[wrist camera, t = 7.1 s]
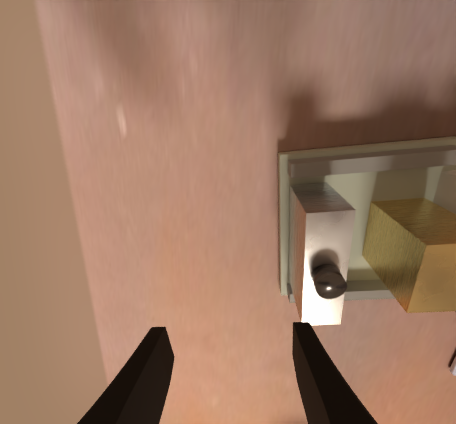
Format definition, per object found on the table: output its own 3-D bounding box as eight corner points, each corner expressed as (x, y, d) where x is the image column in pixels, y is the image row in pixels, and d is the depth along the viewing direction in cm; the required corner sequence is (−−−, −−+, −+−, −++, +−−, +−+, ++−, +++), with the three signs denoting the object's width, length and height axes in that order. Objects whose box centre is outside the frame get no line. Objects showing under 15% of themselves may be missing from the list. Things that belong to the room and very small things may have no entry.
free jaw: (326, 182, 16) (365, 219, 11) (319, 277, 19) (346, 338, 14) (289, 185, 16) (311, 222, 11) (288, 279, 19) (305, 339, 15)
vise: (503, 131, 15) (622, 146, 10) (448, 281, 20) (512, 336, 15) (277, 152, 16) (293, 174, 12) (279, 288, 21) (290, 342, 17)
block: (424, 197, 16) (505, 240, 11) (409, 252, 18) (474, 310, 13) (370, 201, 17) (426, 245, 12) (361, 255, 18) (406, 312, 14)
